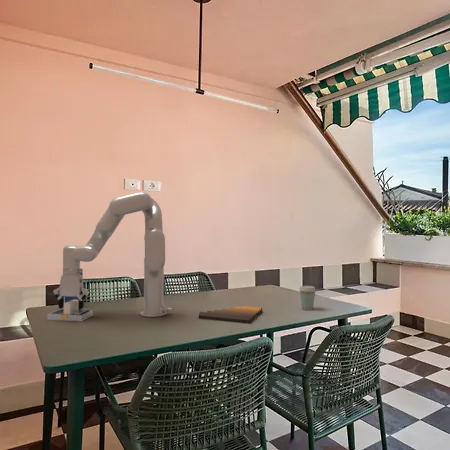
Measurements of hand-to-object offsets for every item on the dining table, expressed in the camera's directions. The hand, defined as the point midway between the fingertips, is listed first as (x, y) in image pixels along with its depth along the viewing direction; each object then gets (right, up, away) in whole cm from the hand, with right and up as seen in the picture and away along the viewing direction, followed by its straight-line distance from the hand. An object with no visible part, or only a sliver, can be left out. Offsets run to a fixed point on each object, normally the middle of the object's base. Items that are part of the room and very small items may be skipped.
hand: (70, 308), depth 179 cm
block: (0, -4, 0) cm, 4 cm away
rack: (0, -4, 0) cm, 4 cm away
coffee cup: (+117, -6, +24) cm, 119 cm away
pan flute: (+76, -6, +9) cm, 77 cm away
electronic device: (-7, -4, +22) cm, 24 cm away
